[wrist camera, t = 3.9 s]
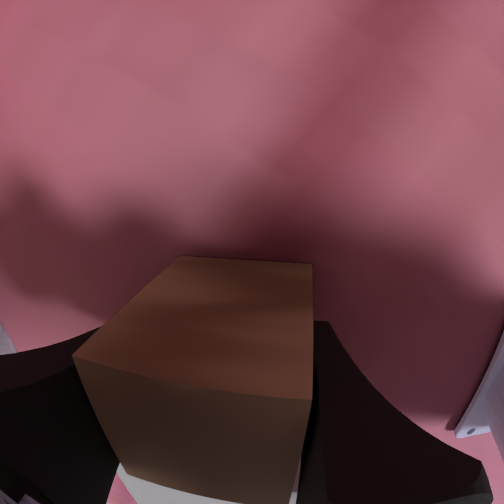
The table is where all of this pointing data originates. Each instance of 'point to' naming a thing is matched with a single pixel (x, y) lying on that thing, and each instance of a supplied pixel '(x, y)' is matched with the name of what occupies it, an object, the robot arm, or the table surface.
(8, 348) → the stone block
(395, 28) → the table surface
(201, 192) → the table surface
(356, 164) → the table surface
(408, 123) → the table surface
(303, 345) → the walnut block
